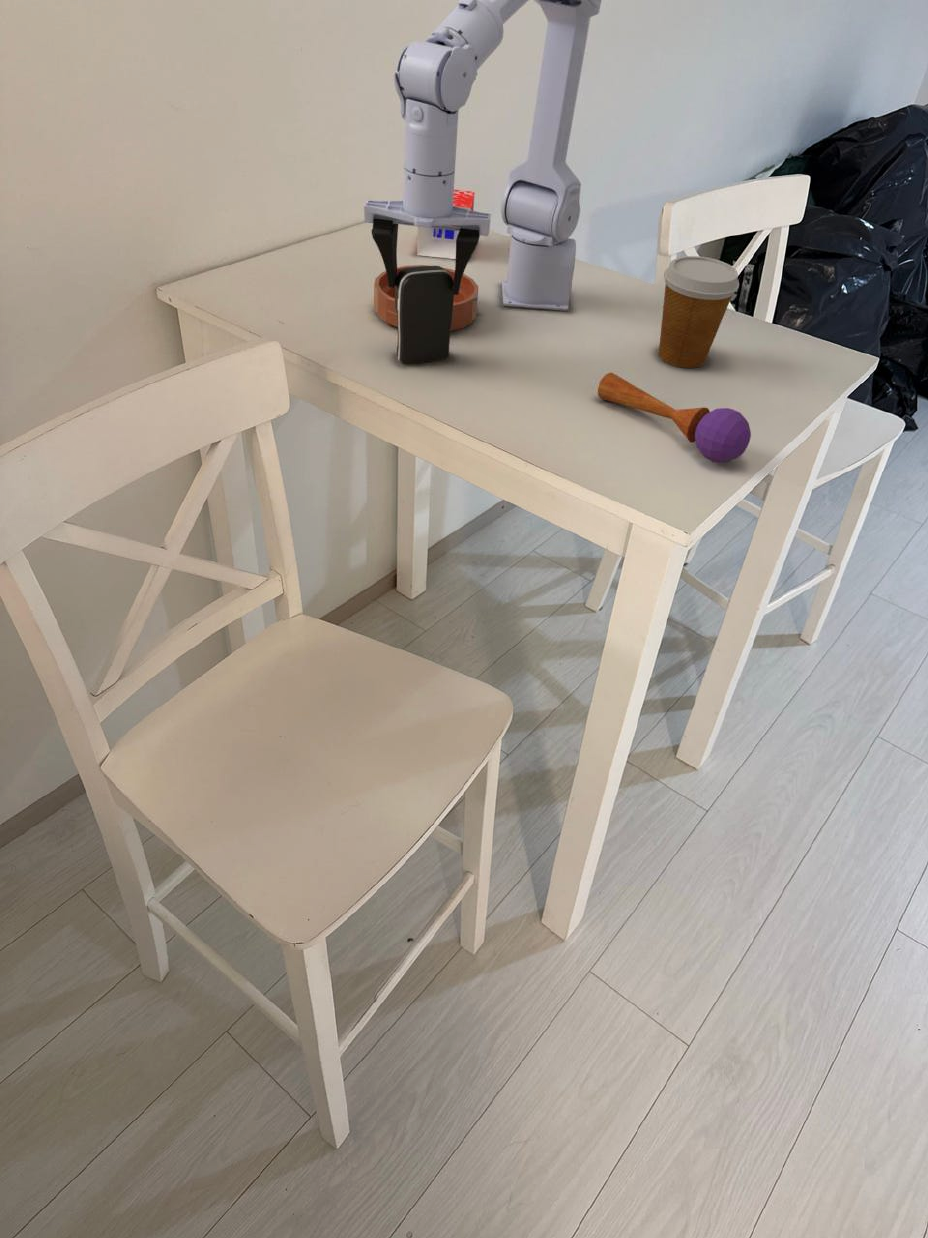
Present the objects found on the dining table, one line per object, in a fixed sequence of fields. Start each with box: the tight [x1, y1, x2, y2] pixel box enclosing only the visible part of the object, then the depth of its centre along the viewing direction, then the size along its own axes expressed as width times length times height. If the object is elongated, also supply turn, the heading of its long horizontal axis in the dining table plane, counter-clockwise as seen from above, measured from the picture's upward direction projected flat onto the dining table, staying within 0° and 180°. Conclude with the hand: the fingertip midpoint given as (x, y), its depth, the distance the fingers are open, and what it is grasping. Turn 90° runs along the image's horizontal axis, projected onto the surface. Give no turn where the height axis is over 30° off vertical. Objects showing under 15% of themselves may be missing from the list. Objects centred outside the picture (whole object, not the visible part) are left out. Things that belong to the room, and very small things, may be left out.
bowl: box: [373, 264, 479, 332], centre depth 126 cm, size 14×14×4 cm
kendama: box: [597, 372, 752, 463], centre depth 106 cm, size 6×6×20 cm
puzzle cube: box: [416, 189, 476, 260], centre depth 143 cm, size 8×8×8 cm
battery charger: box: [395, 265, 454, 364], centre depth 113 cm, size 7×4×11 cm, turn 111°
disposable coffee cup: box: [658, 255, 740, 369], centre depth 118 cm, size 10×10×12 cm
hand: (424, 287), depth 110 cm, fingers open, 7 cm apart
